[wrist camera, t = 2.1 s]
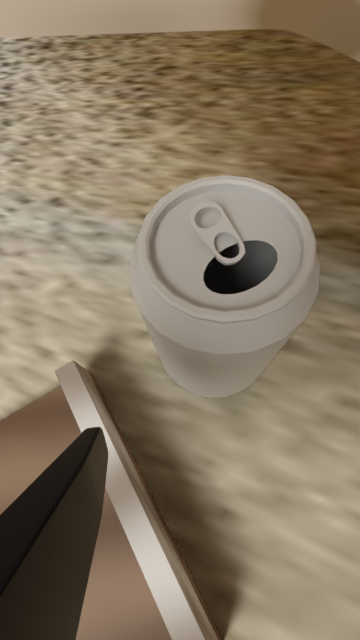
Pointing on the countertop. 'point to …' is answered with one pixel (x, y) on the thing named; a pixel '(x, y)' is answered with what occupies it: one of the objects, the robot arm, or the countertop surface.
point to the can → (223, 280)
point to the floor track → (108, 520)
